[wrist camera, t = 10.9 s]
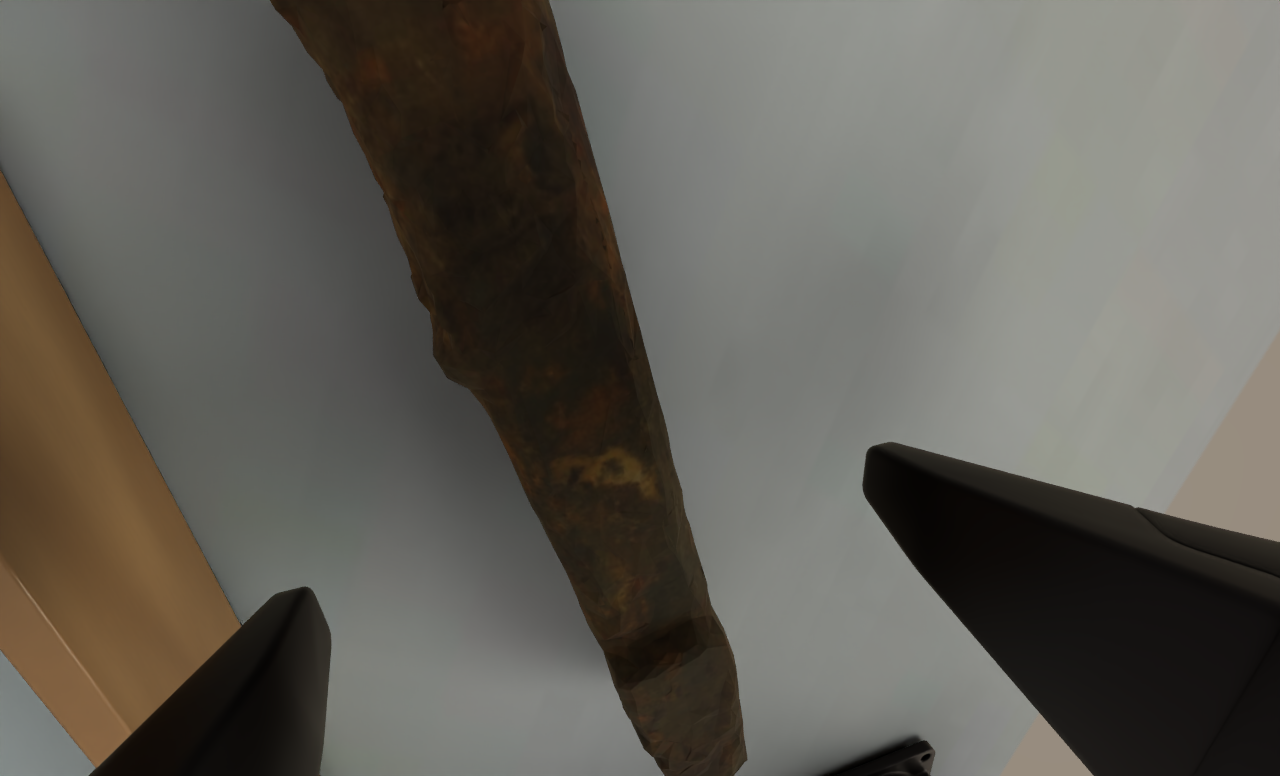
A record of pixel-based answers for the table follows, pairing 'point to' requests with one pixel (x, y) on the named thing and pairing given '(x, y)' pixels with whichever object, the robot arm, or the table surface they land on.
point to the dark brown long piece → (540, 327)
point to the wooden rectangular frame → (87, 523)
